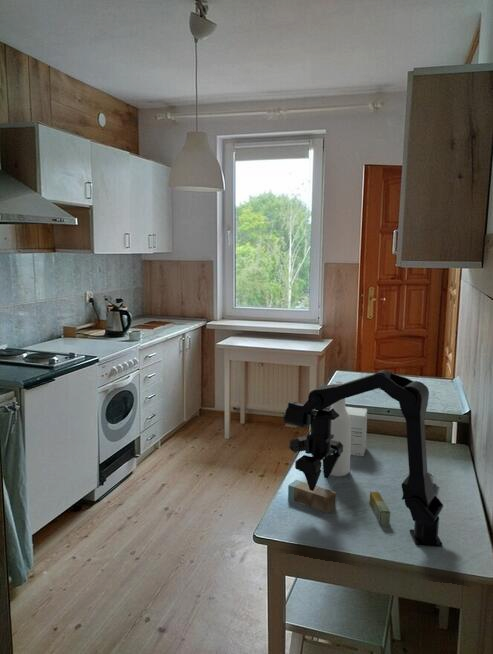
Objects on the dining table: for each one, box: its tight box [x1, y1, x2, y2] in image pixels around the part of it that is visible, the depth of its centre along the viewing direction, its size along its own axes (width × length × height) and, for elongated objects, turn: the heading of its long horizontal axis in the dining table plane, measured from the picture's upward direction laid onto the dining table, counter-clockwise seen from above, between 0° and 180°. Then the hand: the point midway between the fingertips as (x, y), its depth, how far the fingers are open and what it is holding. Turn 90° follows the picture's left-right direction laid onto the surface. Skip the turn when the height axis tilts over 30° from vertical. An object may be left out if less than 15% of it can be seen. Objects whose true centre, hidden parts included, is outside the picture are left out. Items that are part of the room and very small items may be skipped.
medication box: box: [368, 491, 391, 527], centre depth 140 cm, size 12×3×4 cm, turn 1°
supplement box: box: [345, 406, 368, 457], centre depth 183 cm, size 9×9×15 cm
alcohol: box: [328, 381, 352, 478], centre depth 165 cm, size 9×9×30 cm
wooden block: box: [287, 479, 337, 514], centre depth 146 cm, size 4×4×13 cm
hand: (319, 484), depth 144 cm, fingers open, 9 cm apart
